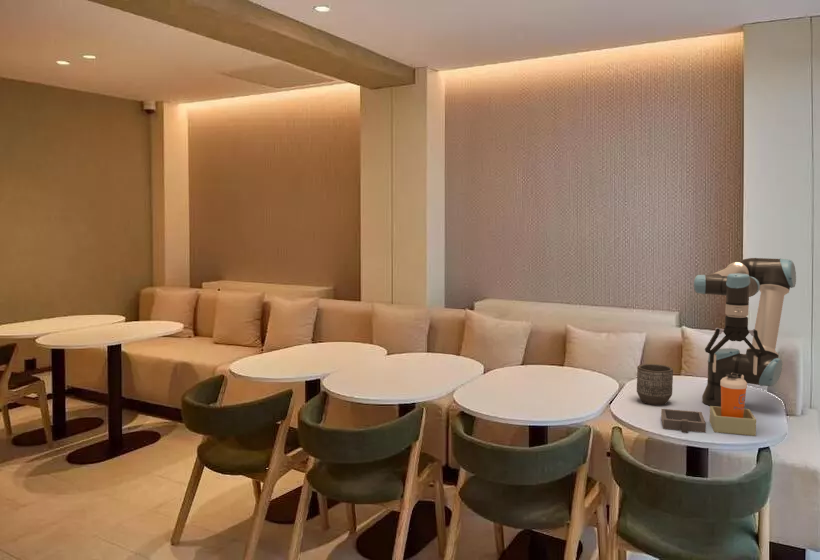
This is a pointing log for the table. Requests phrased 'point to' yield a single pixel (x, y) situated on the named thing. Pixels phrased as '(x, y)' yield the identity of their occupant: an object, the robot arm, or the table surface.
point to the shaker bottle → (733, 395)
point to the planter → (654, 383)
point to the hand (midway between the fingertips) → (734, 372)
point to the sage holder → (732, 422)
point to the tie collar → (683, 420)
